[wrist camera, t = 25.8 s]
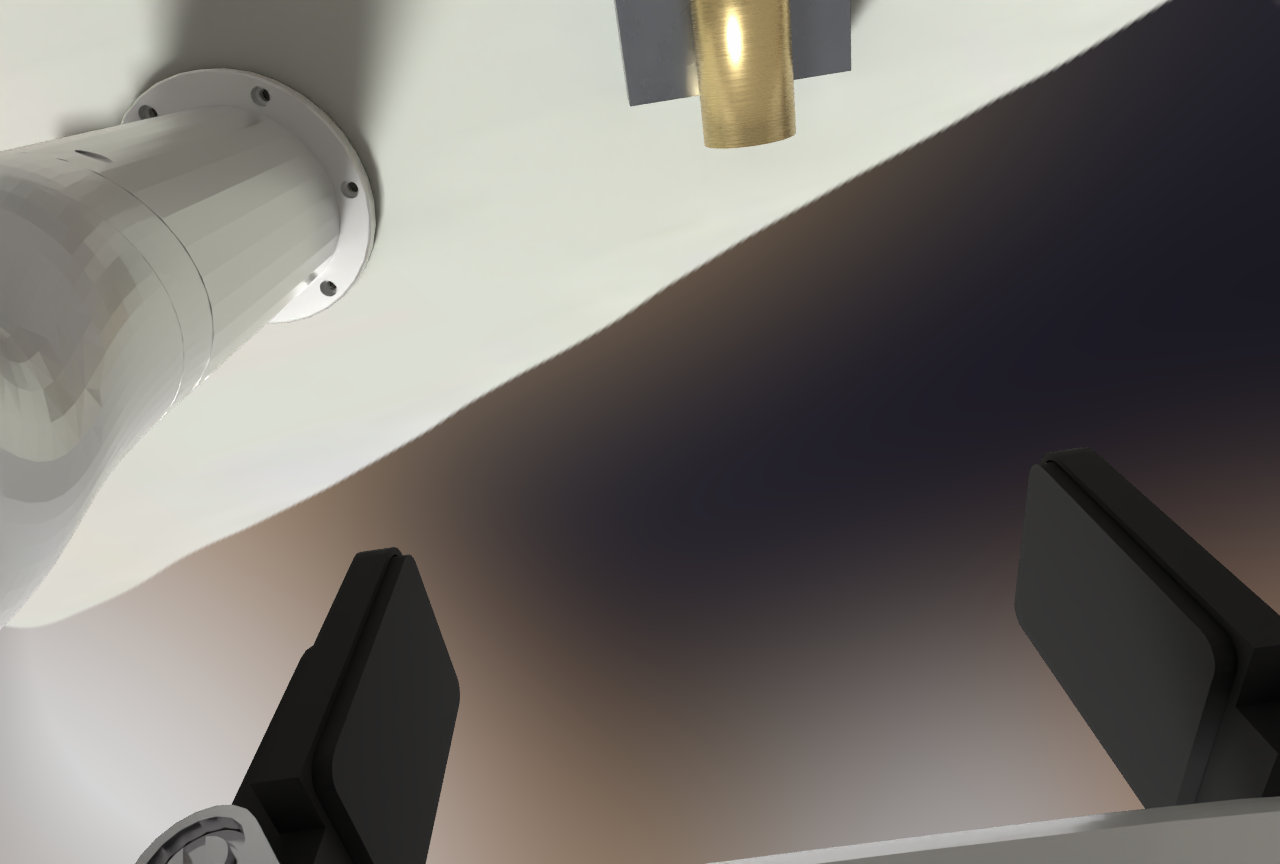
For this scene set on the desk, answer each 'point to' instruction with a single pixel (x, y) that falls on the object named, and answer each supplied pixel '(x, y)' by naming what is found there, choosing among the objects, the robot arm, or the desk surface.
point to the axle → (744, 71)
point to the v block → (666, 48)
